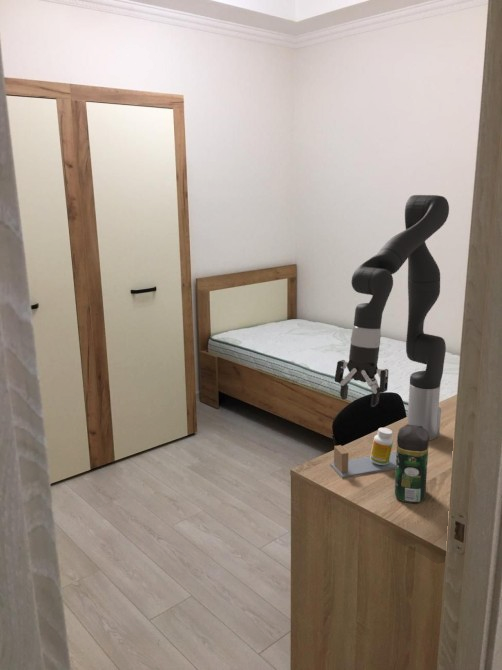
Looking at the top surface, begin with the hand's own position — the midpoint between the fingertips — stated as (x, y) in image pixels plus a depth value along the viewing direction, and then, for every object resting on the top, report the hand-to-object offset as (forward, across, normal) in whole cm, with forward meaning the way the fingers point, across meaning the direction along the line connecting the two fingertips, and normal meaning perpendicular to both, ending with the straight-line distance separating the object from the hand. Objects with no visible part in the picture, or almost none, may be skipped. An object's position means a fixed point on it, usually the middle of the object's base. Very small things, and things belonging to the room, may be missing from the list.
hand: (358, 402), depth 155 cm
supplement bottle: (+20, -3, -13) cm, 24 cm away
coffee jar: (+22, -16, -2) cm, 27 cm away
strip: (+21, -3, -12) cm, 24 cm away
